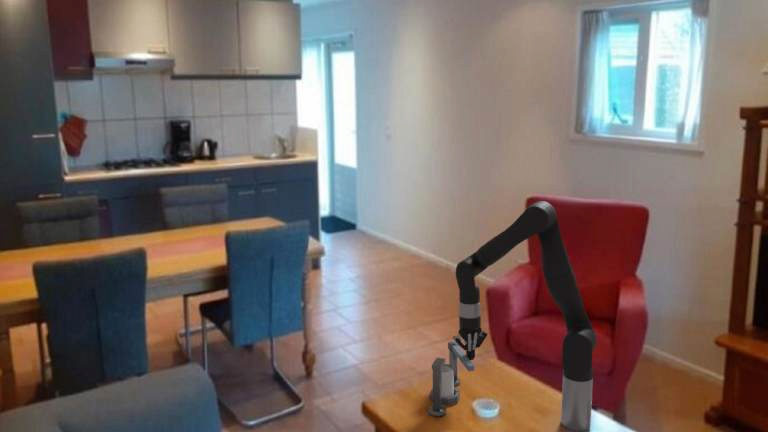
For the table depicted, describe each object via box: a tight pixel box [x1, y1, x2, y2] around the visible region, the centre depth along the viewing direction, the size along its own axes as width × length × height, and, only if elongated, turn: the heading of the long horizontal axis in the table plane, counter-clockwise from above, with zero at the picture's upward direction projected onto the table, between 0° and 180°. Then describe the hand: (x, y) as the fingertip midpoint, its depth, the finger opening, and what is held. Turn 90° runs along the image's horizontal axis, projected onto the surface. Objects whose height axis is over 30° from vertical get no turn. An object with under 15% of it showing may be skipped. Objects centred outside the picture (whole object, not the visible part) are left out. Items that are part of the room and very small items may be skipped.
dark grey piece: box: [427, 357, 447, 418], centre depth 213 cm, size 6×8×18 cm
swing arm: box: [447, 340, 475, 372], centre depth 223 cm, size 21×4×2 cm, turn 13°
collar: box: [429, 386, 461, 407], centre depth 223 cm, size 10×10×2 cm
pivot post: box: [448, 349, 461, 387], centre depth 233 cm, size 5×5×14 cm
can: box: [441, 363, 455, 398], centre depth 222 cm, size 6×6×12 cm
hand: (470, 359), depth 222 cm, fingers closed
